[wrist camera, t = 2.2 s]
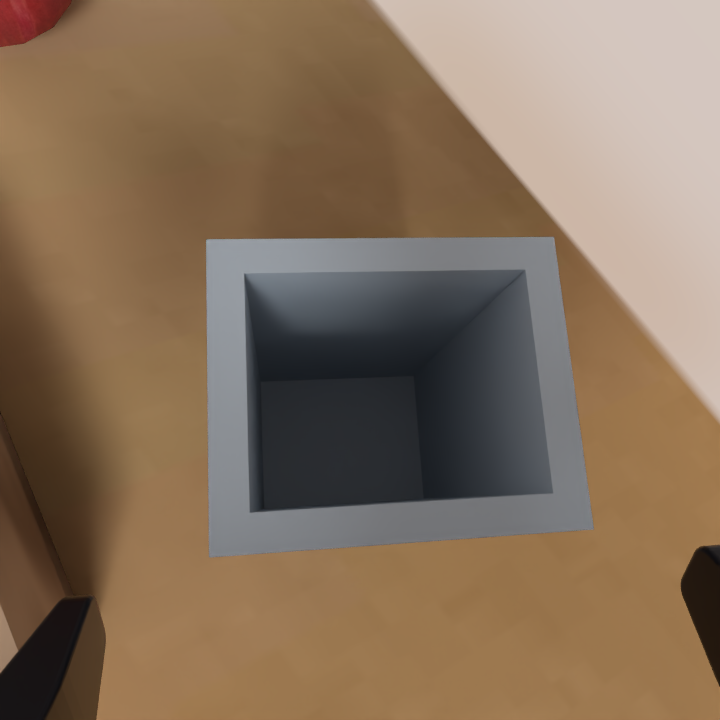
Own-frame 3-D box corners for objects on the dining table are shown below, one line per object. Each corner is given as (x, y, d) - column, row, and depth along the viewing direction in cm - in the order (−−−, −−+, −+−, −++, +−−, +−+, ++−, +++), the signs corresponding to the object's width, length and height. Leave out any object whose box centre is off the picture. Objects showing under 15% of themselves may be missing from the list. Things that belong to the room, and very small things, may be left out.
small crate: (439, 517, 20) (593, 529, 10) (244, 530, 19) (209, 557, 9) (426, 361, 21) (553, 237, 11) (241, 367, 20) (206, 239, 10)
